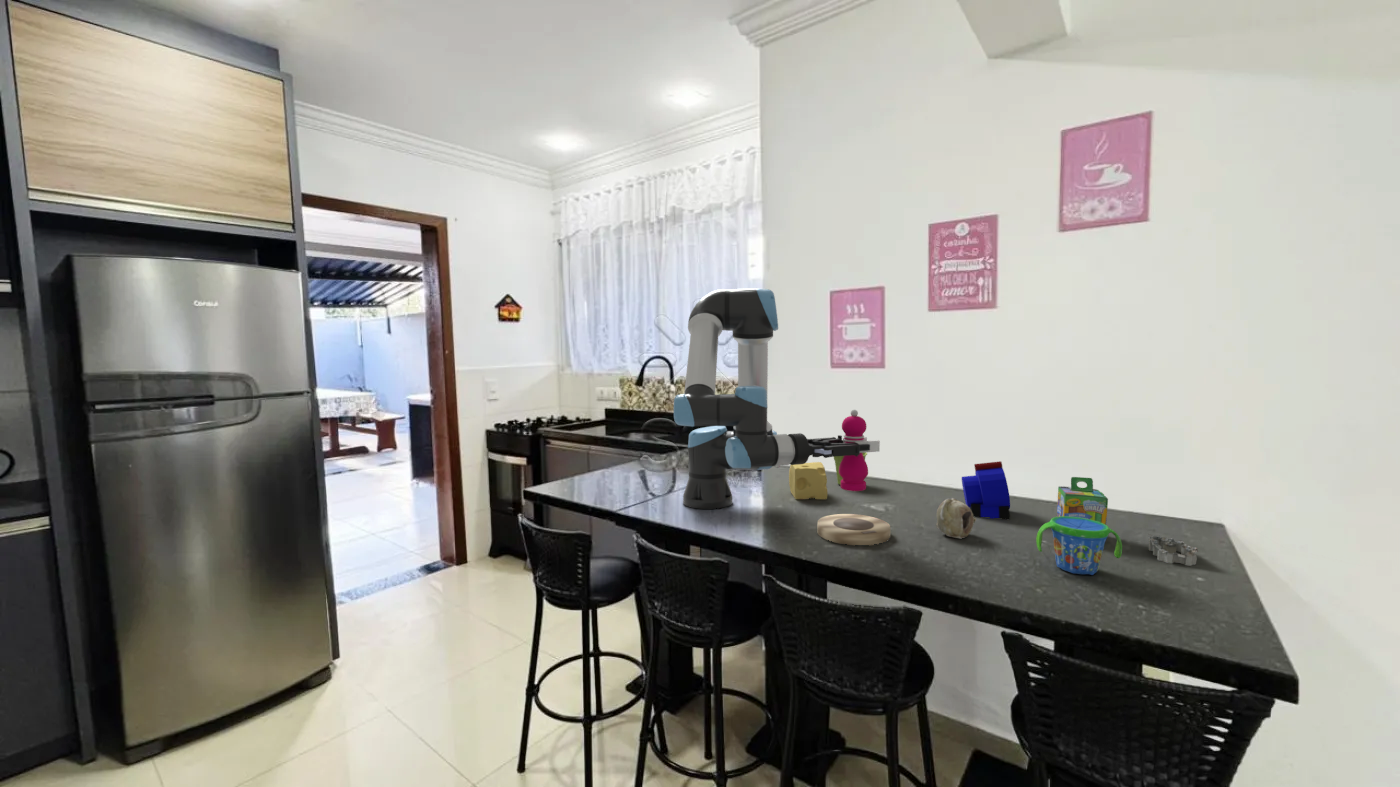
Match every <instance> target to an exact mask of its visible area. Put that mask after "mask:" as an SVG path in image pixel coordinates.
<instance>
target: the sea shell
mask: <svg viewBox="0 0 1400 787" xmlns="http://www.w3.org/2000/svg"><path fill="white" fill-rule="evenodd" d="M976 521H977V517H974V516H973V513H972V511H971V509H970V508H969V507H968V506H967V505H966V503H964V502H963V501H960V500H958V499H957V498H954V497H951V498H946V499H945V500H943V501H942V502H940V504H939V505H938V508H937V509H936V524H935V526H936V529H937V530H939V531H941V532H942V533H944V534H945V535H946V537H950V538H953V539H954V538H955V539H962V538H966V537H968V536H969V535H970V533H971V531H972V529H973V527H974V524H975V523H976ZM962 540H963V539H962Z"/></svg>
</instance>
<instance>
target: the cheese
mask: <svg viewBox="0 0 1400 787" xmlns="http://www.w3.org/2000/svg"><path fill="white" fill-rule="evenodd" d="M789 466H790V467H789V471H788V484H789V490H790V493H791V494H792V496H793V497H794V500H809V498H810V499H814V498H815V499H814V500H827V499H828V486H827V482H828V478H827V474H826V468H825V466H824V464H823V463H822V462H821V461H814V462H813V461H812V462H806V463H805V464H798V465H791V464H789Z"/></svg>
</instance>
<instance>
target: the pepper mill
mask: <svg viewBox="0 0 1400 787" xmlns="http://www.w3.org/2000/svg"><path fill="white" fill-rule="evenodd" d="M841 430H842V431H843V432H844V435H843V438H844V441H845V443H855V442H860V441H864V437H865V436H864V434H865V433H866V431H867V422H866V420H865V419H864V418H862V417H861V416H859V412H858V410H856V409H852V410H850V415H849V416H847V417H845V418H844V419H843V421H842V423H841ZM839 474H840V476H841V477H842V478H843V480H841V485H840V489H842V490H845V491H849V492H850V491H851V492H860V491H861V492H862V491H865V490H866V489H867V481H865V479H866V478H867V477H868V475H869V468H868V464H867V462H866V458H865V459H864V457H863V454H862V453H860V455H858V456H857V457H856V456H855V455H850V456H844V457H843V459H842V461H841V463H840V466H839Z"/></svg>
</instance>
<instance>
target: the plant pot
mask: <svg viewBox="0 0 1400 787" xmlns="http://www.w3.org/2000/svg"><path fill="white" fill-rule="evenodd" d="M862 454H863V457H864V459H865V460H866V456H867V455H868V452H865V453H862ZM843 457H844V456H835V457H833V461H834V465H835V472H836V480H837V484H838V485H840V486H841V480H843V478H842V477H841V476H840V474H839V466H840V463H841V461H842V459H843Z"/></svg>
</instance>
